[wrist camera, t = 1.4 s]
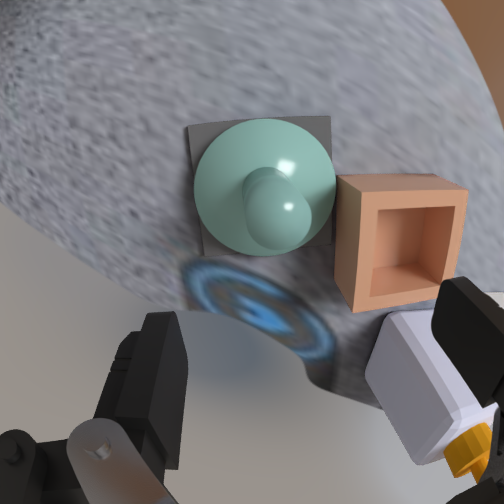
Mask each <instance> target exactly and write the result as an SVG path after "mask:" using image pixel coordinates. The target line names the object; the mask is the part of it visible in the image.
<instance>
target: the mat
mask: <svg viewBox="0 0 504 504" xmlns="http://www.w3.org/2000/svg"><path fill="white" fill-rule="evenodd" d="M259 119H277V120H282V121H286V122H289V123H292V124H294V125H297V126H299V127H301V128H302V129H304V130H306V131H307V132H309V133H310V134H311V135H312V136H314V137H315V138H316V139H317V140H318V141H319V142H320V144H321V145H322V146H323V148H324V149H325V150H326V152H327V154H328V156H329V158H330V160H331V162H332V145H331V117H330V116H302V117H276V118H259ZM248 120H253V119H245V120H233V121H223V122H214V123H205V124H197V125H189V126H188V133H189V142H190V151H191V160H192V168H193V176H194V179H195V175H196V170H197V168H198V165H199V162H200V160H201V158H202V156H203V154H204V153H205V151H206V150H207V148H208V147H209V145H210V144H211V143H212V142H213V141H214V140H215V139H216V138H217V137H218V136H219V135H220V134H221V133H223V132H224V131H225V130H227V129H229V128H230V127H232V126H234V125H237V124H239V123H241V122H245V121H248ZM198 214H199V213H198ZM199 221H200V228H201V235H202V242H203V248H204V255H205V256H216V255H226V254H237V253H240V252H237V251H235V250H233V249H231V248H229V247H227V246H225V245H224V244H222V243H221V242H220V241H218V240H217V239H216V238H215V237H214V236H213V235H212V234H211V233H210V232H209V231H208V229H207V228H206V226H205V225H204V224H203V222H202V220H201V218H200V216H199ZM331 234H332V210H331V213H330V215H329V217H328V219H327V221H326V222H325V224H324V225H323V227H322V228H321V229H320V230H319V232H318V233H317V234H316V235H315V236H314V237H313V238H312V239H310V240H309V241H308V242H306V243H305V244H304V245H302V246H300V247H310V246H321V245H331ZM300 247H298V248H300Z"/></svg>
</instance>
